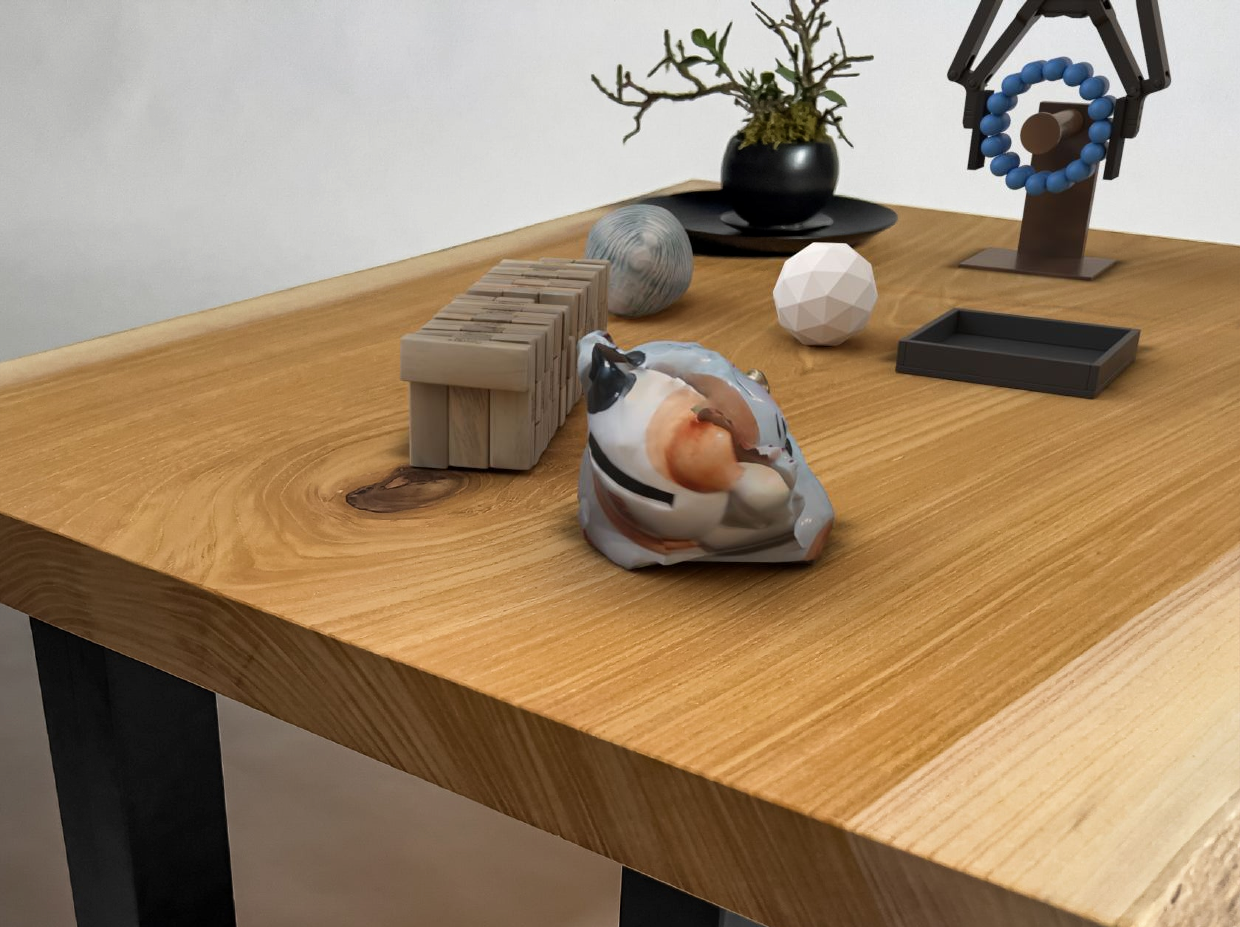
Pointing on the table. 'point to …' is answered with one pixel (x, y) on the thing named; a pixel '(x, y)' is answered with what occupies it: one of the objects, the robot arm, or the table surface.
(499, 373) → the block tower
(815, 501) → the lucky cat figurine
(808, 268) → the geometric ball
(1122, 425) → the table surface
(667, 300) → the grey streaked rounded piece
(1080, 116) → the bracelet rack
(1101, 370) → the tray
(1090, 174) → the blue beaded bracelet
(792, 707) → the table surface
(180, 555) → the table surface
